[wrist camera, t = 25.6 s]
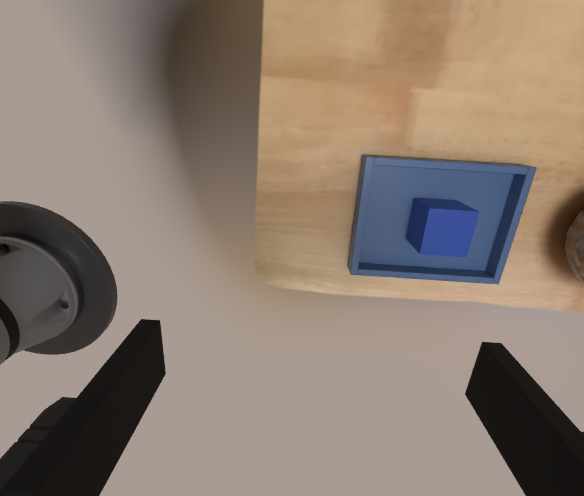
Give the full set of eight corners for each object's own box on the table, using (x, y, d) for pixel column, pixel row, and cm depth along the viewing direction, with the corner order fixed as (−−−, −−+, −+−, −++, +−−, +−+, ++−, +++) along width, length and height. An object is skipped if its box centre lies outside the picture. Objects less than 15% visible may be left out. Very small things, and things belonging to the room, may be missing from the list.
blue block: (405, 238, 39) (419, 254, 34) (413, 197, 37) (429, 208, 32) (447, 241, 39) (466, 257, 34) (457, 200, 37) (479, 211, 32)
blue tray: (347, 265, 41) (350, 274, 38) (362, 154, 36) (366, 156, 34) (487, 274, 41) (498, 284, 38) (521, 164, 36) (537, 167, 33)
